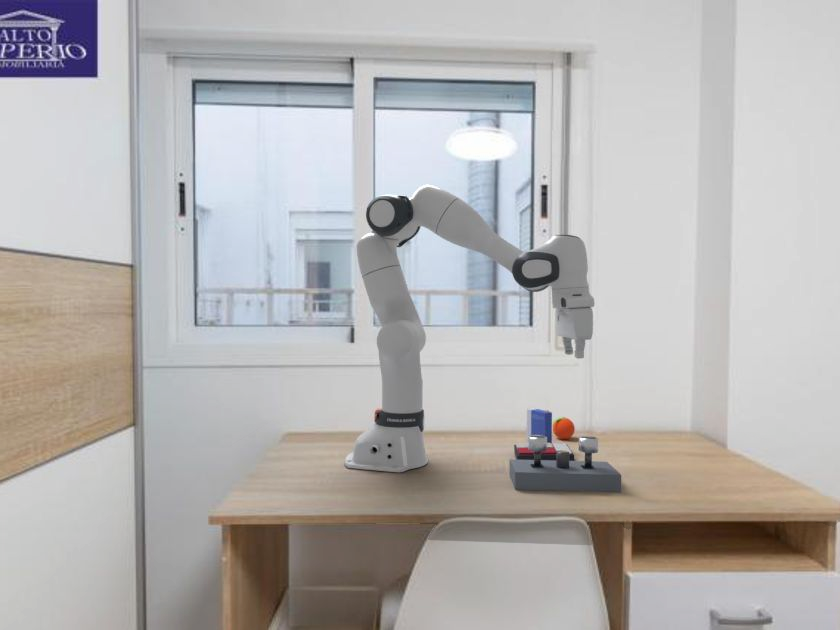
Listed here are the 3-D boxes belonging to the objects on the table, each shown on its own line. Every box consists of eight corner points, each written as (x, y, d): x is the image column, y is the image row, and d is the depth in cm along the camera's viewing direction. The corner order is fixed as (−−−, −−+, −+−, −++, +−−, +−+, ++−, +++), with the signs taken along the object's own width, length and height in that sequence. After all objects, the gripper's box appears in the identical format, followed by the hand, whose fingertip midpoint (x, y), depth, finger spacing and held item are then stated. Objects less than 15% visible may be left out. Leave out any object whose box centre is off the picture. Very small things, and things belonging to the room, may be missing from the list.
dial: (557, 468, 115) (557, 453, 115) (555, 464, 118) (555, 449, 118) (570, 468, 114) (570, 453, 115) (567, 464, 118) (567, 449, 118)
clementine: (559, 442, 154) (559, 420, 154) (545, 437, 160) (545, 416, 160) (579, 440, 157) (579, 418, 157) (564, 435, 163) (565, 414, 163)
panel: (515, 489, 112) (515, 472, 112) (509, 475, 122) (509, 459, 122) (621, 492, 110) (621, 474, 110) (606, 477, 120) (606, 461, 120)
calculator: (513, 441, 142) (566, 441, 140) (514, 456, 142) (567, 456, 140) (517, 452, 131) (574, 451, 129) (517, 468, 131) (575, 467, 129)
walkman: (551, 451, 143) (552, 411, 144) (545, 452, 142) (545, 412, 142) (532, 445, 150) (533, 406, 150) (526, 446, 149) (526, 407, 149)
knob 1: (529, 468, 114) (530, 438, 114) (526, 462, 119) (526, 433, 119) (548, 468, 114) (548, 438, 114) (544, 463, 118) (545, 434, 118)
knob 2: (581, 469, 114) (581, 439, 114) (576, 463, 118) (576, 435, 118) (600, 470, 113) (600, 440, 113) (594, 464, 118) (595, 435, 118)
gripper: (548, 301, 130) (551, 353, 130) (568, 300, 110) (572, 361, 110) (572, 300, 130) (575, 351, 130) (596, 298, 109) (600, 359, 110)
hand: (574, 356), depth 120 cm, fingers open, 8 cm apart
